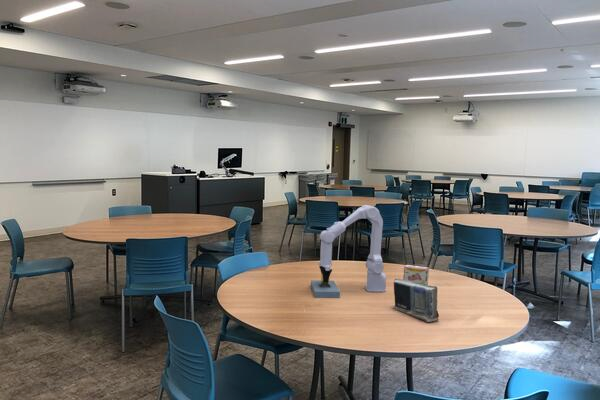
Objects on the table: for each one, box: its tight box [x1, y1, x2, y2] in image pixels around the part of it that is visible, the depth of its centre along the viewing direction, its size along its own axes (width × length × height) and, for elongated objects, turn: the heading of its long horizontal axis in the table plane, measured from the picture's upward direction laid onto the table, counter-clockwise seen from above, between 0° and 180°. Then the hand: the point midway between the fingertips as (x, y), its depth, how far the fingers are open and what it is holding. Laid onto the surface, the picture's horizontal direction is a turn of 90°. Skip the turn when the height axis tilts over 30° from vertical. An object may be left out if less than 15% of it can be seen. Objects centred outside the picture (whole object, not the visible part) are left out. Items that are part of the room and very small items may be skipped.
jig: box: [310, 279, 341, 299], centre depth 229 cm, size 12×20×3 cm, turn 5°
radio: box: [390, 278, 440, 323], centre depth 200 cm, size 23×9×15 cm, turn 25°
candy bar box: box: [402, 264, 430, 286], centre depth 219 cm, size 11×5×16 cm, turn 65°
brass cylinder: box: [320, 272, 330, 286], centre depth 229 cm, size 4×4×6 cm
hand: (325, 281), depth 229 cm, fingers closed on brass cylinder, 4 cm apart
